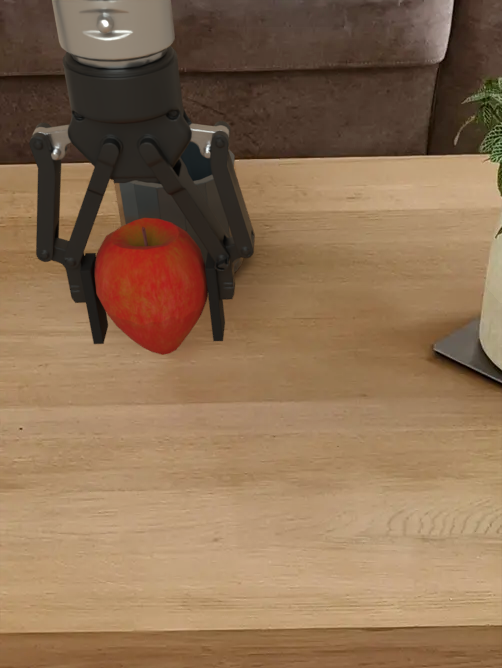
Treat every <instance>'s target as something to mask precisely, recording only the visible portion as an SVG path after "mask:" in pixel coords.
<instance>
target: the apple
mask: <svg viewBox="0 0 502 668" xmlns="http://www.w3.org/2000/svg"><path fill="white" fill-rule="evenodd" d="M94 275H95V284H96V294H97V296H98V298H99V300H100V301H101V303H102V305H103V307H104V309H105V311H106V315H107V317H109V318H110V320H111V321H112V323H113V324H115V326H116V327H117V328H118V329H119V330H120V331H121V332H122V333H124V334H125V335H126V336H127V337H128V338H129V339H130V340H131V341H133V342H134V343H135V344H136V345H139V346H140V347H141V348H143V349H145V350H147V351H149V352H151V353H154V354H158V355H162V356H164V355H169V354H172V353H174V352H175V351H177V350H178V349H179V348H180V346H181V345H182V344H183V343H184V341H185V340H186V338H187V337H188V335H189V334H190V333H191V331H193V328H194V327H195V326H196V324H197V322H198V321H199V319H200V318H201V316H202V314H203V311H204V309H205V306H206V304H207V300H208V289H207V281H206V272H205V263H204V260H203V257H202V253H201V250H200V248H199V247H198V245H197V244H196V243H195V241H194V240H193V239H192V238H191V237H190V235H189V234H188V233H187V232H186V231H184V230H183V229H181V228H180V227H178V226H176V225H175V224H173V223H171V222H168V221H164V220H161V219H155V218H142V219H139V220H135V221H133V222H130V223H128V224H126V225H124V226H122V227H121V226H120V227H118V228H117V229H115V230H114V231H112V232H110V233H109V234H107V235H105V237H104V239H103V241H102V242H101V244H100V246H99V248H98V249H97V252H96V261H95V267H94Z"/></svg>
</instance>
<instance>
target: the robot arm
mask: <svg viewBox="0 0 502 668" xmlns="http://www.w3.org/2000/svg"><path fill="white" fill-rule="evenodd" d="M51 4H52V8H53V15H54V20H55V25H56V27H55V28H56V31H57V37H58V38H57V39H58V42H59V46H60V48H61V49H62V50H64V51H65V54H64V55H63V57H62V66H63V72H64V77H65V83H66V90H67V94H68V100H69V105H70V111H71V117H70V118H71V119H70V122H69V124H63V125H58V126H52V125H51V124H49V123H46V122H39V123H38V124H37V125H36V126H35V129H34V131H33V133H32V135H31V137H30V139H29V148H30V151H31V153H32V157H33V159H34V161H35V164H36V167H37V188H36V189H37V195H36V237H35V238H36V240H35V241H36V242H35V243H36V244H35V246H36V247H35V255H36V257H37V259H38V260H39V261H41V262H44V263H48V262H51V261H53V262H56V263H59V264H61V266H63V267H64V269H65V272H66V278H67V282H68V288H69V293H70V297H71V299H72V300H73V302H74V303H75V304H85V305H86V311H87V316H88V321H89V327H90V332H91V337H92V343H93V345H104V344H105V341H106V336H107V333H108V328H109V321H108V314H107V313H106V311H105V309H104V307H103V305H102V303H101V301H100V300H99V298H98V296H97V294H96V284H95V275H94V267H95V261H96V256H97V252H85V250H86V248H87V244H88V242H89V238H90V236H91V233H92V230H93V227H94V224H95V221H96V219H97V216H98V213H99V210H100V208H101V205H102V202H103V199H104V196H105V193H106V191H107V188H108V186H109V183H110V180H111V181H113V184H114V183H127V182H131V181H134V180H137V181H141V182H146V183H158V181H159V182H160V183H161V185H162V186H163V188H164V190H165V191H166V192H167V194H169V195H171V196H172V198H173V199H174V201H175V202H176V204H177V205H178V207H179V208H180V210H181V211H182V213H183V214H184V216H185V217H186V219H187V221H188V222H189V224H190V225H191V227H192V228H193V230H194V231H195V233H196V234H197V236H198V237H199V239H200V240H201V242H202V243H203V245H204V247H205V248H206V250H207V251H208V253H207V259H206V266H205V272H206V281H207V289H208V297H207V299H208V307H209V315H210V324H211V332H212V333H211V334H212V340H213V341H212V342H224V336H225V327H226V317H225V308H224V300H233V298H234V297H235V291H236V279H235V278H236V277H235V273H234V267H233V262H234V261H235V260H236V259H238V258H241V257H242V258H243V259H249V258H251V257H253V255H254V252H255V243H256V242H255V240H256V234H255V231H254V228H253V224H252V221H251V219H250V215H249V211H248V208H247V205H246V202H245V199H244V195H243V193H242V189H241V186H240V183H239V179H238V176H237V172H236V173H235V169H234V166H233V163H232V160H231V157H230V153H229V150H230V143H231V126H230V125H229V122H226V121H223V120H220V121H217V122H215V124H214V125H206V124H200V123H193V122H192V120H191V119H190V117H189V116H188V115H187V113H186V111H185V108H184V103H183V95H182V86H181V78H180V70H179V69H180V68H179V60H178V53H177V51H176V49H174V48H173V46H171V45H173V43H174V41H175V40H176V37H175V36H176V35H175V25H174V16H173V6H172V0H51ZM190 142H194V143H196V144H197V145H198V147H199V149H200V153H201V155H202V156H204V157H205V158H210V165H211V171H212V175H213V178H214V181H215V184H216V187H217V191H218V194H219V197H220V200H221V203H222V206H223V209H224V212H225V215H226V218H227V221H228V224H229V227H230V231H231V234H232V236H231V237H228V236H227V234H226V232H225V231H224V229H223V228H222V226H221V225H220V223H219V221H218V220H217V218H216V217H215V215H214V213H213V212H212V210H211V209H210V207H209V206H208V204H207V202H206V201H205V199H204V198H203V196H202V195H201V193H200V191H199V190H198V188H197V187H196V185H195V184H194V182H193V180H192V179H191V177H190V176H189V174H188V171H187V168H186V166H185V164H184V162H183V161H182V159H181V158H180V156H181V155H182V153H183V152H184V150H185V149H186V147H187V146H188V144H189V143H190ZM69 144H71V145H73V146H74V147H75V149H77V150H78V152H80V154H81V155H82V156H84V157H85V159H86V160H87V161H88V162H89V163H90V164H91V165H92V166H94V168H93V170H92V173H91V176H90V179H89V182H88V185H87V188H86V191H85V193H84V197H83V199H82V203H81V206H80V207H79V211H78V214H77V217H76V220H75V223H74V226H73V228H72V232H71V234H70V237H69V240H68V239H64V238H60V213H61V211H60V210H61V185H62V184H61V183H62V182H61V181H62V159H64V158H65V156H66V154H67V151H68V145H69Z"/></svg>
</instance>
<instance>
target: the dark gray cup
mask: <svg viewBox="0 0 502 668" xmlns="http://www.w3.org/2000/svg"><path fill="white" fill-rule="evenodd" d="M229 153H230V157H231V160H232V163H233V166H234V169H235V173H236V174H237V165H236V156H235V154H234V153H233V152H232V150H231V149H229ZM180 158H181V159H182V161H183V162H184V164H185V166H186V168H187V171H188V174H189V176H190V177H191V179H192V180H193V182H194V184H195V185H196V187H197V188H198V190H199V191H200V193H201V195H202V196H203V198H204V199H205V201H206V202H207V204H208V206H209V207H210V209H211V210H212V212H213V213H214V215H215V217H216V218H217V220H218V221H219V223H220V225H221V226H222V228H223V229H224V231H225V232H226V234H227V236H228V237H231V236H232V234H231V231H230V227H229V224H228V221H227V218H226V215H225V212H224V209H223V206H222V203H221V200H220V197H219V194H218V191H217V187H216V184H215V181H214V178H213V175H212V171H211V165H210V158H205V157H204V156H202V155H201V153H200V149H199V147H198V145H197V144H196V143H194V142H190V143H189V144H188V146H187V147H186V149H185V150H184V152H183V153H182V155H181V156H180ZM113 184H114V190H115V196H116V197H115V198H116V203H117V210H118V216H119V222H120V227H122V226H124V225H126V224H128V223H130V222H133V221H135V220H139V219H142V218H155V219H161V220H164V221H168V222H171V223H173V224H175V225H176V226H178V227H180V228H181V229H183V230H184V231H186V232H187V233H188V234H189V235H190V237H191V238H192V239H193V240H194V241H195V243H196V244H197V245H198V247H199V248H200V250H201V253H202V257H203V260H204V263H205V266H206V259H207V253H208V251H207V250H206V248H205V247H204V245H203V243H202V242H201V240H200V239H199V237H198V236H197V234H196V233H195V231H194V230H193V228H192V227H191V225H190V224H189V222H188V221H187V219H186V217H185V216H184V214H183V213H182V211H181V210H180V208H179V207H178V205H177V204H176V202H175V201H174V199H173V198H172V196H171V195H169V194H167V192H166V191H165V190H164V188H163V186H162V185H161V183H160V182H159V181H158V183H146V182H141V181H137V180H134V181H131V182H127V183H114V182H113ZM243 261H244V258H242V257H241V258H238V259H236V260H235V261H234V262H233V267H234V274H235V273H236V272H237V271H238V270H239V269H240V268H241V266H242V264H243Z"/></svg>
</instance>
